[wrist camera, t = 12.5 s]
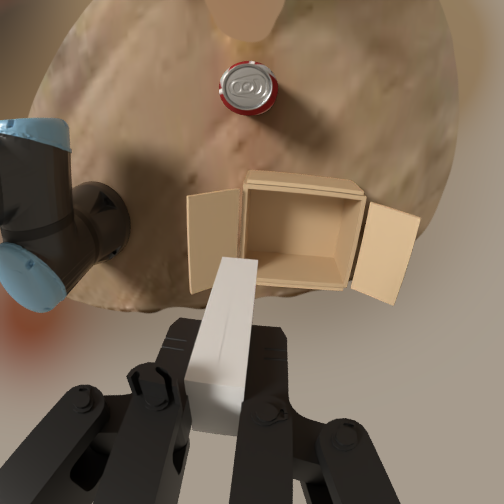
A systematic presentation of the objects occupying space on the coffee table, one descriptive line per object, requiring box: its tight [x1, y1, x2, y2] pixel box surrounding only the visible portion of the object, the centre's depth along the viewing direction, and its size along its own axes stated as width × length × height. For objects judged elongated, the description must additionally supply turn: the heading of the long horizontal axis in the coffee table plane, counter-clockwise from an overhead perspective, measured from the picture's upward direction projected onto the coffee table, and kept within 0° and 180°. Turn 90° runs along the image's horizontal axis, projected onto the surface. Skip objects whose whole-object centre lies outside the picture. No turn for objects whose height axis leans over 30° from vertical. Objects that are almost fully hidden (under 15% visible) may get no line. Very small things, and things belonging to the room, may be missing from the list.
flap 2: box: [351, 202, 421, 305], centre depth 37 cm, size 7×13×1 cm
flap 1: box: [187, 188, 240, 294], centre depth 37 cm, size 7×13×1 cm
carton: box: [239, 170, 367, 291], centre depth 44 cm, size 16×15×9 cm
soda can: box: [219, 61, 278, 116], centre depth 34 cm, size 7×7×12 cm
